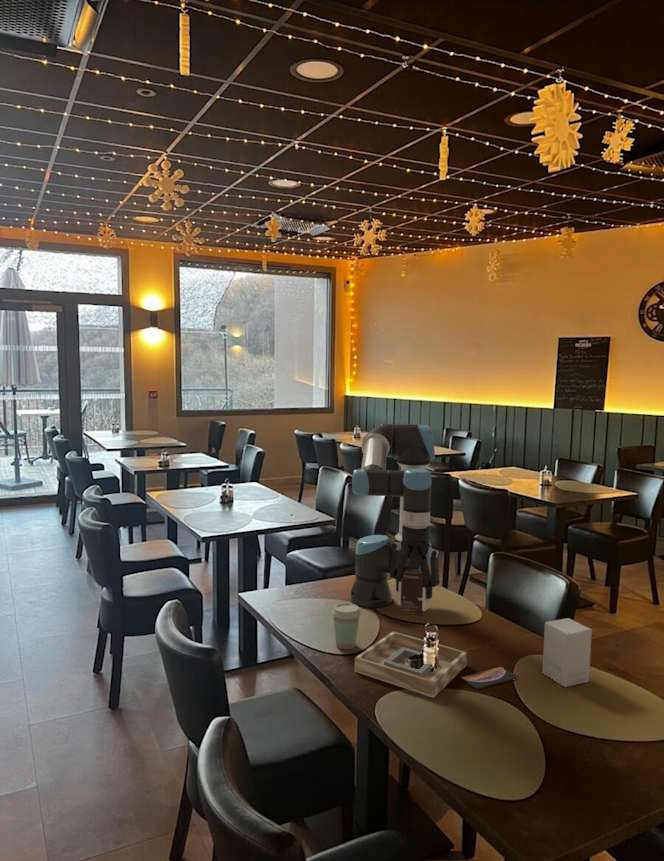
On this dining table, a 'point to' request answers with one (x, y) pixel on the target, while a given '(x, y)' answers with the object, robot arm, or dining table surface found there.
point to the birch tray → (390, 644)
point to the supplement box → (567, 652)
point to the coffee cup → (346, 624)
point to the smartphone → (488, 678)
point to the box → (412, 592)
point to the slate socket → (399, 656)
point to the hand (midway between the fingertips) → (413, 606)
